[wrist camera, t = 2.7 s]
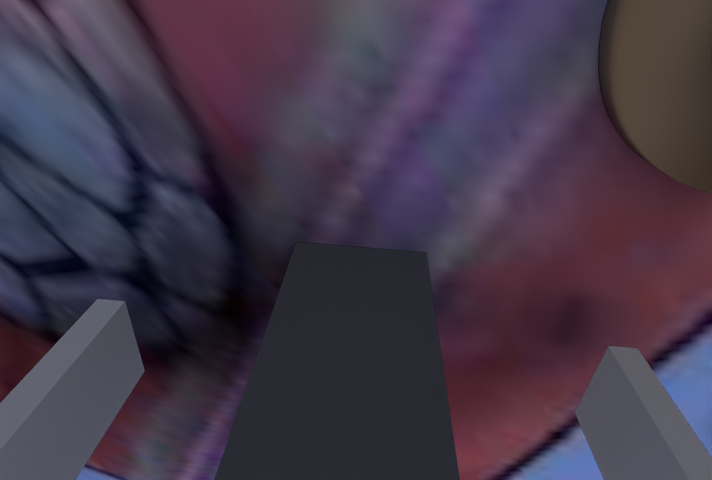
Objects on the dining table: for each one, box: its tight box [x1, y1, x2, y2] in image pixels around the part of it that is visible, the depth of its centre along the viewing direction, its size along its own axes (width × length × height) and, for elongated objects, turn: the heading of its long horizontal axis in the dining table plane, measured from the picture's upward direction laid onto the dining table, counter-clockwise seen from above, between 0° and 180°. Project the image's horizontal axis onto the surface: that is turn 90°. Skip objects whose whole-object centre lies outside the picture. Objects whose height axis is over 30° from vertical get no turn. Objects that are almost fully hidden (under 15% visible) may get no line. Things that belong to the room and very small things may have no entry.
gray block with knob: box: [214, 242, 460, 480], centre depth 10 cm, size 4×4×10 cm
